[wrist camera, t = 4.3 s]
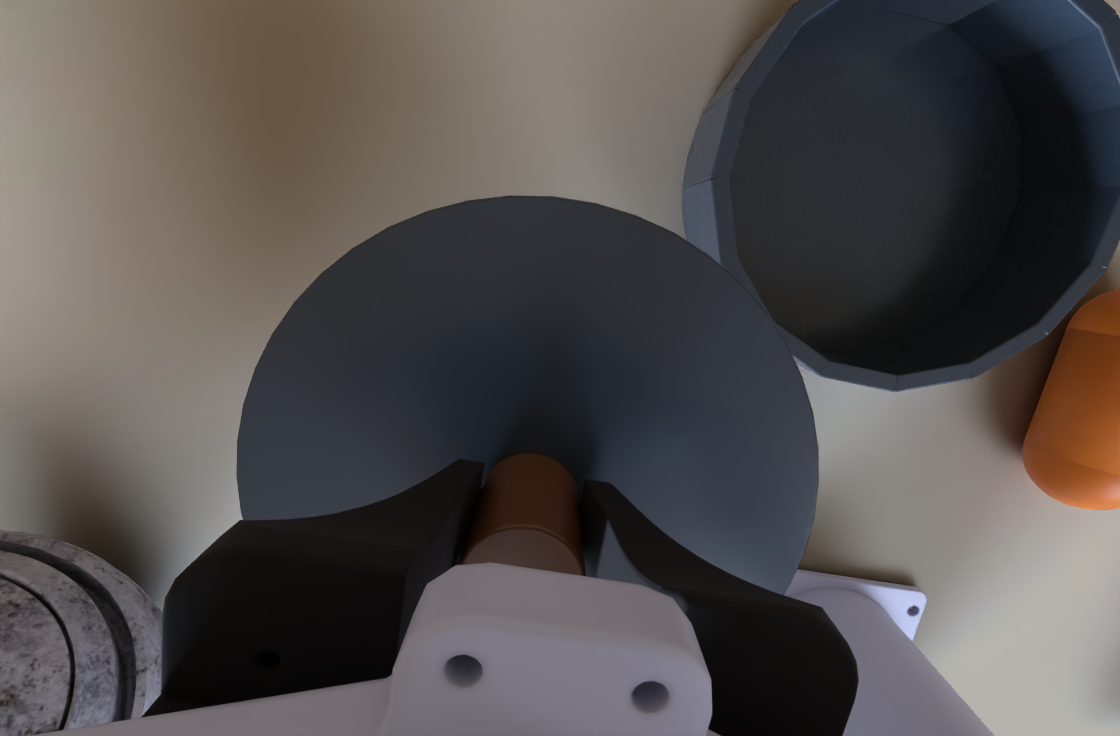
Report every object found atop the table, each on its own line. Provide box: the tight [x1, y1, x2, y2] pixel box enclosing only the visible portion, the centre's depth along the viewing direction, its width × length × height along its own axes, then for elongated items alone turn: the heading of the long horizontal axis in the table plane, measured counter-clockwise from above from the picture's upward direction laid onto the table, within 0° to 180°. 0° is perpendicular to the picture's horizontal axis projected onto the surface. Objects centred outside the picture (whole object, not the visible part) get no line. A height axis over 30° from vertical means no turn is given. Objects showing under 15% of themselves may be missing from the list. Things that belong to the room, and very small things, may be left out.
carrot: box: [1022, 288, 1120, 510], centre depth 22 cm, size 10×4×4 cm, turn 170°
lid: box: [237, 196, 819, 595], centre depth 13 cm, size 14×14×5 cm
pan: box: [682, 0, 1120, 392], centre depth 20 cm, size 13×13×4 cm
